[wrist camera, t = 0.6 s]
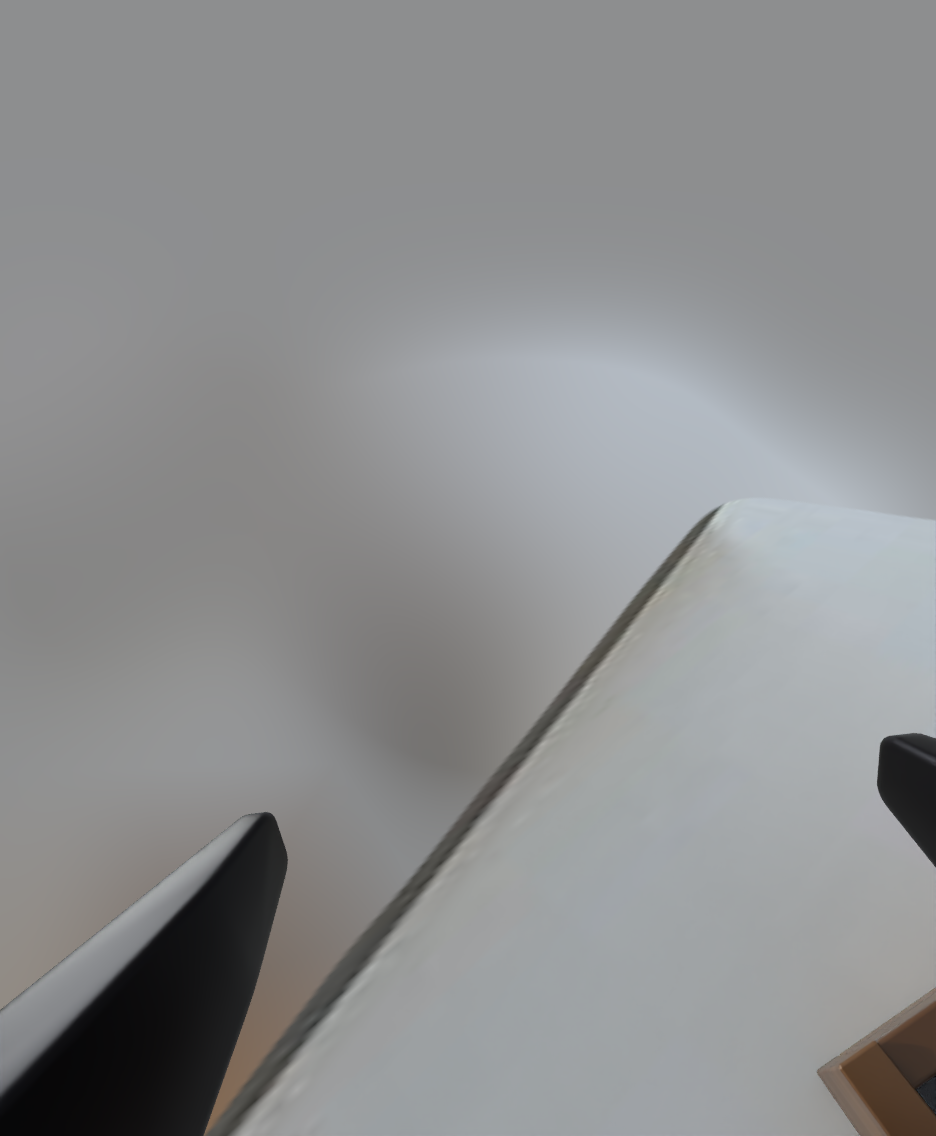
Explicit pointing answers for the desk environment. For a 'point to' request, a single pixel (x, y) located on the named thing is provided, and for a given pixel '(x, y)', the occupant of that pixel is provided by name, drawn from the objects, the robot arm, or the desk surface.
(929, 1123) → the wooden cubby shelf
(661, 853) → the desk surface
